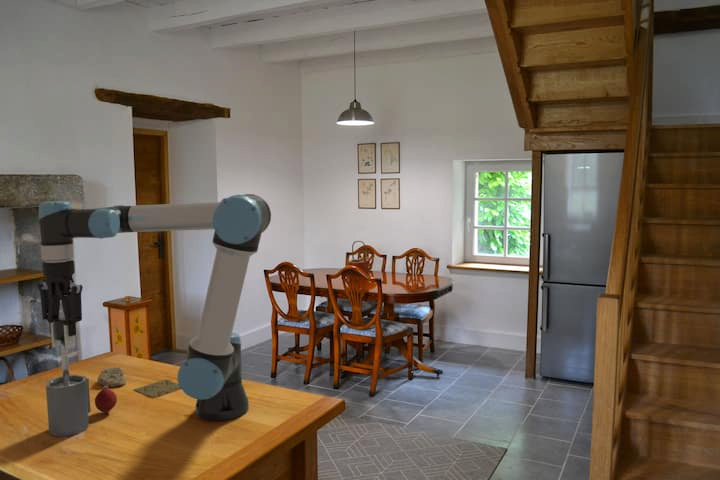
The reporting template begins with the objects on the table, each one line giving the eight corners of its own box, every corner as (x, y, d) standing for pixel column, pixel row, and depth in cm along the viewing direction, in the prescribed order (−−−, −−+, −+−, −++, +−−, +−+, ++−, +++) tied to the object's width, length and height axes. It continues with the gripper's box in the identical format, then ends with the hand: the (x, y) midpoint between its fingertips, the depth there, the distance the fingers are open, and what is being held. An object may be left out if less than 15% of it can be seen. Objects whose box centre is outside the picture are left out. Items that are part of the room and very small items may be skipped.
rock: (94, 382, 191) (97, 386, 182) (98, 364, 192) (101, 367, 184) (122, 384, 195) (126, 388, 187) (125, 367, 196) (129, 369, 188)
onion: (109, 417, 162) (107, 390, 162) (91, 416, 164) (89, 389, 163) (121, 409, 168) (120, 383, 167) (104, 408, 169) (102, 382, 168)
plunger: (85, 385, 156) (81, 318, 154) (65, 393, 150) (60, 324, 148) (67, 382, 158) (63, 316, 156) (47, 390, 152) (42, 321, 150)
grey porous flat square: (165, 380, 193) (165, 377, 193) (186, 388, 186) (186, 385, 185) (132, 391, 184) (132, 388, 184) (153, 400, 176) (153, 397, 176)
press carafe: (101, 421, 160) (98, 375, 158) (68, 439, 149) (64, 389, 148) (76, 416, 163) (73, 371, 162) (41, 433, 153) (38, 384, 151)
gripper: (94, 259, 151) (99, 345, 153) (46, 256, 157) (52, 339, 159) (70, 264, 144) (76, 354, 146) (21, 260, 150) (28, 347, 152)
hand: (64, 346), depth 153 cm, fingers closed on plunger, 4 cm apart
